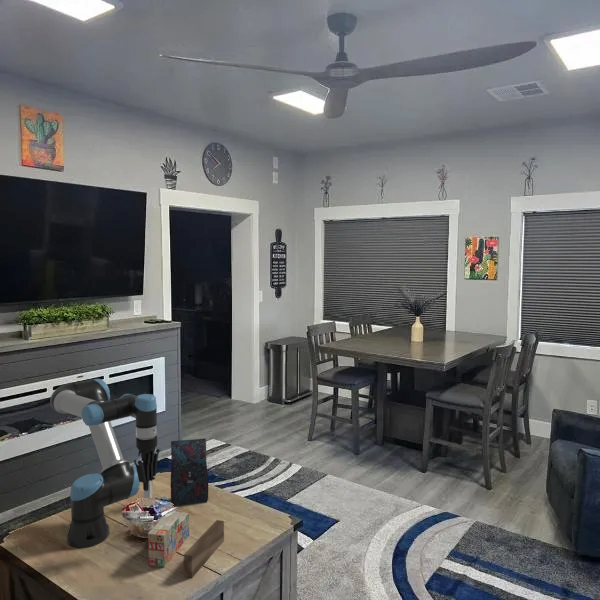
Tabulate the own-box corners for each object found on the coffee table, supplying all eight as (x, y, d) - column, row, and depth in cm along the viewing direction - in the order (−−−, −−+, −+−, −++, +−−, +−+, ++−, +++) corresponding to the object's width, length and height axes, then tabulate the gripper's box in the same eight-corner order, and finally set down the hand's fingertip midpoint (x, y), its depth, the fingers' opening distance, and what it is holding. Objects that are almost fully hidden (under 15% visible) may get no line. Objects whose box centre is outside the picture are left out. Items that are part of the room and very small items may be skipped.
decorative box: (171, 498, 231) (169, 438, 229) (207, 494, 235) (206, 435, 233) (170, 506, 223) (169, 444, 221) (208, 502, 227) (208, 441, 225)
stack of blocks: (174, 533, 202) (174, 504, 201) (189, 535, 201) (189, 505, 200) (148, 565, 181) (147, 532, 180) (164, 568, 180) (163, 534, 179)
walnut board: (184, 576, 175) (184, 554, 174) (217, 539, 198) (216, 519, 197) (192, 578, 174) (191, 555, 173) (224, 540, 197) (223, 521, 196)
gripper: (144, 443, 182) (146, 506, 184) (165, 431, 195) (166, 491, 197) (127, 441, 185) (128, 503, 187) (148, 429, 197) (149, 488, 199)
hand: (148, 497), depth 192 cm, fingers closed
